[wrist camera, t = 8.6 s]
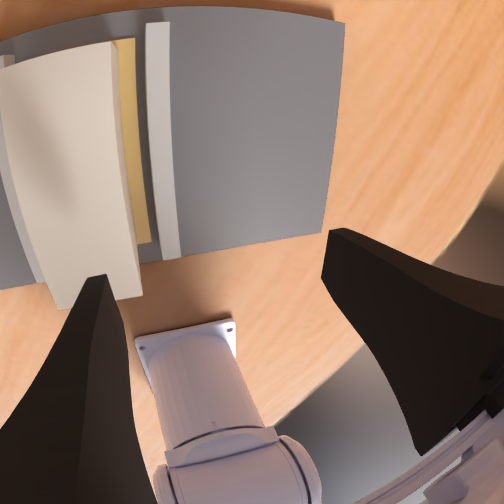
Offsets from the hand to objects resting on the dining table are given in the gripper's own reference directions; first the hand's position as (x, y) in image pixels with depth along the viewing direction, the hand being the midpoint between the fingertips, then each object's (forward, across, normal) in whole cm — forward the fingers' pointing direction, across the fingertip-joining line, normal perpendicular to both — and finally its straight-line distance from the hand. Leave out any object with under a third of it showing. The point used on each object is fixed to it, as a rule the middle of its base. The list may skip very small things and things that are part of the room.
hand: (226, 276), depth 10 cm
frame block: (+8, +5, -2) cm, 10 cm away
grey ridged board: (+9, +4, -2) cm, 11 cm away
